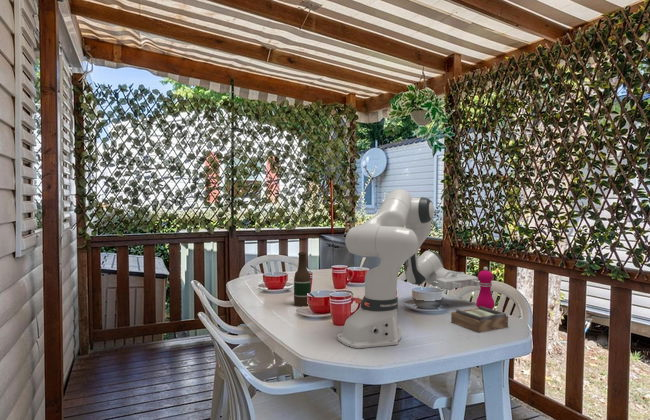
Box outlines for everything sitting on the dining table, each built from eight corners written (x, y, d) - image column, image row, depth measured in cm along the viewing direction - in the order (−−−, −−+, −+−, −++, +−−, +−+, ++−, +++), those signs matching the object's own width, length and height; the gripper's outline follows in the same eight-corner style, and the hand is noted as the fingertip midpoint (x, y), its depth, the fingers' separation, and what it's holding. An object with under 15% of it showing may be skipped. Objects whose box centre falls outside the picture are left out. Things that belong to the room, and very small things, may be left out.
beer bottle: (304, 307, 195) (304, 253, 194) (290, 305, 199) (290, 252, 198) (314, 304, 201) (314, 251, 201) (300, 301, 206) (300, 250, 205)
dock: (478, 332, 159) (478, 318, 159) (451, 322, 172) (451, 309, 172) (507, 326, 166) (508, 313, 166) (479, 317, 179) (480, 305, 178)
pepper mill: (495, 317, 179) (496, 268, 178) (477, 316, 180) (477, 267, 180) (492, 312, 186) (493, 265, 185) (474, 311, 187) (475, 265, 187)
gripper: (430, 274, 198) (451, 280, 186) (464, 271, 207) (487, 276, 195) (430, 288, 198) (451, 294, 186) (464, 284, 207) (487, 290, 195)
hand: (470, 285), depth 190 cm, fingers open, 8 cm apart
